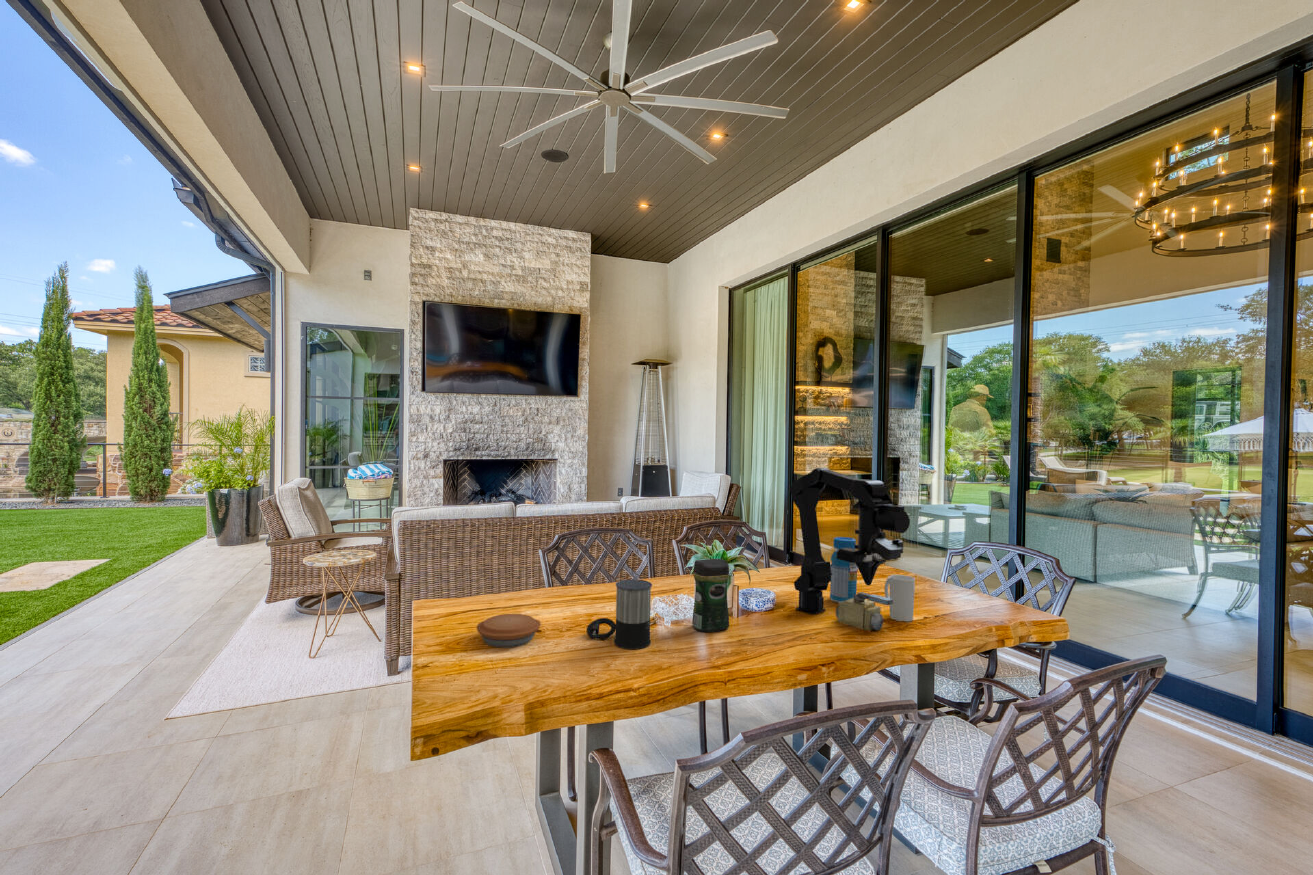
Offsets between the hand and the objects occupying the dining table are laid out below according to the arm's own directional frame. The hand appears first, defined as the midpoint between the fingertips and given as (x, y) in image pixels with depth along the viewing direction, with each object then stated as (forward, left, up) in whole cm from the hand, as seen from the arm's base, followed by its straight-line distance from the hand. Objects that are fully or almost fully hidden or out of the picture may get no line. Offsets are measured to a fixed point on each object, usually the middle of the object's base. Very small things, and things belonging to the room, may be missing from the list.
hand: (868, 585), depth 154 cm
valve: (-5, +4, -13) cm, 14 cm away
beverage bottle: (-21, +22, -13) cm, 33 cm away
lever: (-1, +4, -6) cm, 7 cm away
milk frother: (-35, -57, -13) cm, 68 cm away
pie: (-52, -79, -13) cm, 95 cm away
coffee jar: (-28, -32, -13) cm, 44 cm away
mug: (-2, +20, -13) cm, 24 cm away
